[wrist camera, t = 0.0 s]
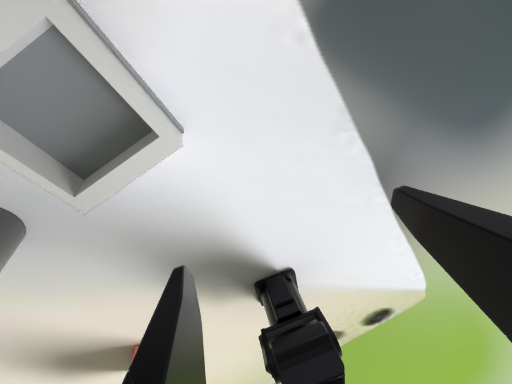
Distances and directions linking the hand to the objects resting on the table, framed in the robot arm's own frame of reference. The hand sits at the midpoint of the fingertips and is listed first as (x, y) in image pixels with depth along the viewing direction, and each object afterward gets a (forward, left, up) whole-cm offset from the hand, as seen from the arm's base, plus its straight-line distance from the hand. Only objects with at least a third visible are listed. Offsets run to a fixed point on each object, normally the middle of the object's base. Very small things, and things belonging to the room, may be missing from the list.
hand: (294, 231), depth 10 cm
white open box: (+4, +10, -15) cm, 18 cm away
